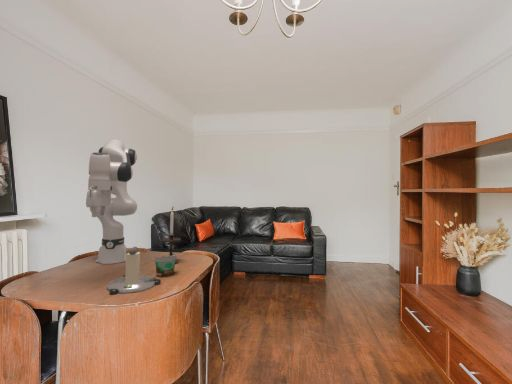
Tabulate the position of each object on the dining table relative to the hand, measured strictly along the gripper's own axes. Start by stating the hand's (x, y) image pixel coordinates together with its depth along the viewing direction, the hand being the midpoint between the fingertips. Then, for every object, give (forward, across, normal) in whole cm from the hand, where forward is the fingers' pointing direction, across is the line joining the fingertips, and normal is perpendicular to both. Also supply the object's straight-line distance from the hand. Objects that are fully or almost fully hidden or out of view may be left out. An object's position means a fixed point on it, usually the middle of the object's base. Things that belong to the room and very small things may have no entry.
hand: (98, 216), depth 120 cm
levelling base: (+31, -6, -18) cm, 36 cm away
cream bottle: (+30, -6, -17) cm, 35 cm away
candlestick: (+31, +32, -30) cm, 54 cm away
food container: (+31, +7, -31) cm, 45 cm away
